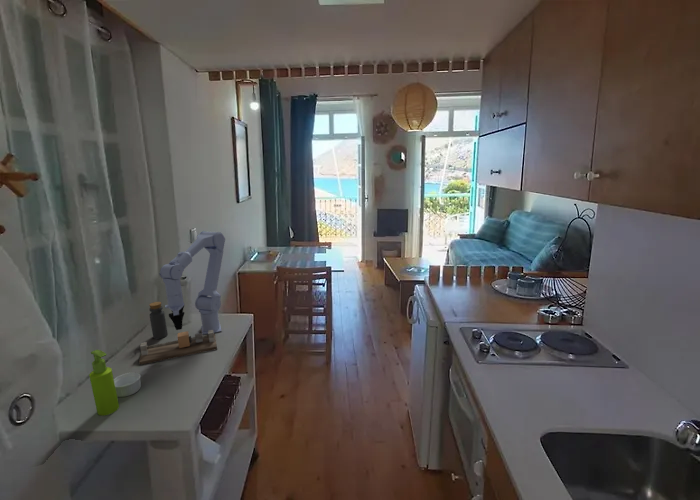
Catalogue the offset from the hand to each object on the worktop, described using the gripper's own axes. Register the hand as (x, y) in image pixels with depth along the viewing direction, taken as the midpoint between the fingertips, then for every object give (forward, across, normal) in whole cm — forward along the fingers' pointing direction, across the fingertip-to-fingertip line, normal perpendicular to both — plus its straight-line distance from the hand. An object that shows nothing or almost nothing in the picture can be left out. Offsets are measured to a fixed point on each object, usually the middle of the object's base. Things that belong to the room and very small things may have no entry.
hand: (179, 325), depth 164 cm
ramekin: (+10, +26, -17) cm, 33 cm away
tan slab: (+9, +2, -1) cm, 10 cm away
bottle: (+10, -16, -9) cm, 21 cm away
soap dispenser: (+10, +36, -21) cm, 43 cm away
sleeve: (+8, +2, +1) cm, 8 cm away
